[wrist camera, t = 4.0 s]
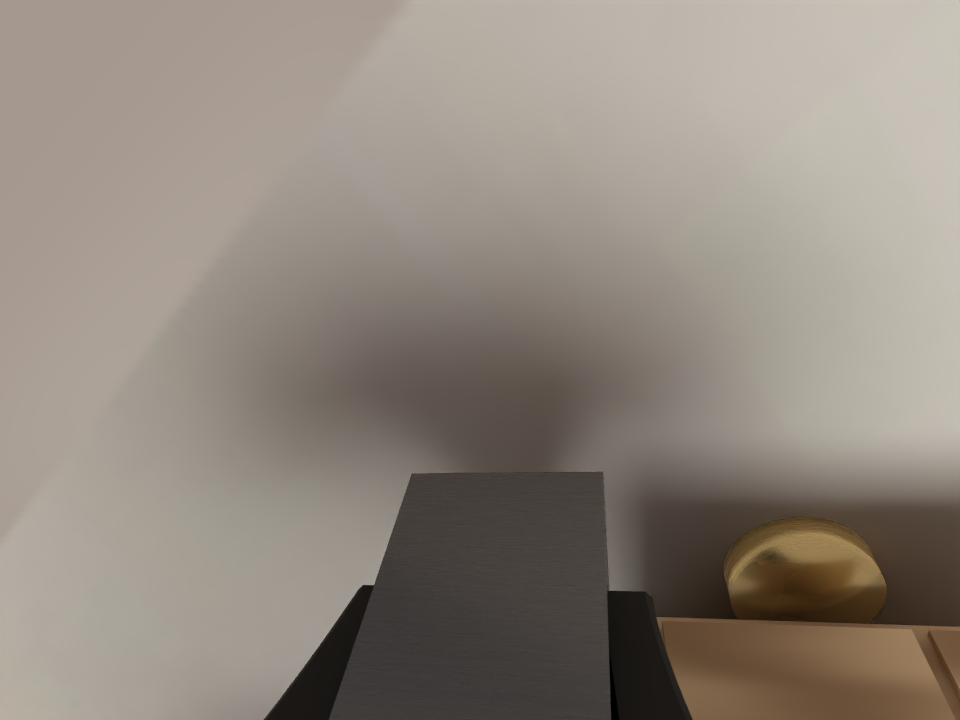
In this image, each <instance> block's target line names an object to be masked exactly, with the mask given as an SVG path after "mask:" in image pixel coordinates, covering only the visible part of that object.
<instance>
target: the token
mask: <svg viewBox="0 0 960 720" xmlns="http://www.w3.org/2000/svg"><path fill="white" fill-rule="evenodd" d="M723 567H724V576H725V580H726V585H727V589H728V593H729V598H730V602H731V606H732V609H733V611H734V614H735V615H736V616H737V618H738V619H739V620H765V621H795V622H826V623H856V624H868V623H869V622H870V621H871V620H872V619H874V618H875V617H876V615H877V614H878V613H879V612H880V611H881V609H882V607H883V606H884V603H885V600H886V596H887V586H886V583H885V579H884V577H883V575H882V573H881V571H880V569H879V567H878V565H877V563H876V561H875V559H874V557H873V555H872V553H871V551H870V549H869V547H868V545H867V543H866V542H865V541H864V540H863V538H862V537H861V536H859V535H858V534H857V533H856V532H854V531H853V530H851V529H850V528H848V527H846V526H844V525H842V524H839V523H836V522H833V521H829V520H825V519H818V518H804V517H803V518H789V519H782V520H778V521H773V522H770V523H767V524H764V525H761V526H759V527H757V528H755V529H753V530H751V531H749V532H747V533H746V534H745V535H743V536H742V537H740V538H739V539H738V540H737V541H736V542H735V543H734V544H733V545H732V547H731V548H730V549H729V551H728V553H727V555H726V557H725V560H724V566H723Z"/></svg>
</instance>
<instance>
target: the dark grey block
mask: <svg viewBox="0 0 960 720" xmlns="http://www.w3.org/2000/svg"><path fill="white" fill-rule="evenodd" d="M608 591H609V575H608V556H607V536H606V517H605V498H604V478H603V472H537V473H428V474H412V475H411V478H410V481H409V484H408V487H407V490H406V493H405V496H404V499H403V502H402V505H401V508H400V510H399V513H398V516H397V519H396V522H395V525H394V528H393V531H392V534H391V537H390V540H389V543H388V546H387V549H386V552H385V555H384V558H383V561H382V564H381V567H380V570H379V573H378V576H377V578H376V581H375V584H374V587H373V590H372V593H371V596H370V599H369V602H368V605H367V608H366V611H365V614H364V617H363V620H362V623H361V626H360V629H359V632H358V635H357V638H356V641H355V644H354V647H353V649H352V652H351V655H350V658H349V661H348V664H347V667H346V670H345V673H344V676H343V679H342V682H341V685H340V688H339V691H338V694H337V697H336V700H335V703H334V706H333V709H332V712H331V715H330V717H329V720H613V707H612V689H611V671H610V653H609V622H608Z"/></svg>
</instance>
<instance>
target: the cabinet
mask: <svg viewBox="0 0 960 720" xmlns="http://www.w3.org/2000/svg"><path fill="white" fill-rule="evenodd" d="M656 618H657V622H658V626H659V629H660V632H661V636H662V639H663V642H664V645H665V648H666V652H667V654H668V657H669V660H670V663H671V666H672V668H673V671H674V674H675V677H676V679H677V682H678V685H679V687H680V690H681V692H682V695H683V697H684V700H685V702H686V705H687V707H688V709H689V712H690V714H691V716H692V719H693V720H960V627H948V626H917V625H887V624H856V623H826V622H795V621H765V620H734V619H704V618H673V617H656Z"/></svg>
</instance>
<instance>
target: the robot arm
mask: <svg viewBox="0 0 960 720" xmlns="http://www.w3.org/2000/svg"><path fill="white" fill-rule="evenodd" d="M373 587H374V585H363V586H362V587H361V588H360V589H359V590H358V591H357V593H356V594H355V595H354V597H353V598H352V600H351V601H350V603H349V604H348V606H347V607H346V609H345V610H344V611H343V613H342V614H341V616H340V617H339V619H338V620H337V622H336V623H335V624H334V626H333V627H332V629H331V630H330V632H329V633H328V634H327V636H326V637H325V639H324V640H323V642H322V643H321V644H320V646H319V647H318V649H317V650H316V651H315V653H314V654H313V655H312V657H311V658H310V660H309V661H308V662H307V664H306V665H305V666H304V668H303V669H302V670H301V672H300V673H299V674H298V676H297V677H296V678H295V680H294V681H293V682H292V684H291V685H290V686H289V688H288V689H287V690H286V692H285V693H284V694H283V696H282V697H281V698H280V700H279V701H278V702H277V704H276V705H275V706H274V708H273V709H272V710H271V711H270V713H269V714H268V715H267V716H266V718H265V719H264V720H329V717H330V715H331V712H332V709H333V706H334V703H335V700H336V697H337V694H338V691H339V688H340V685H341V682H342V679H343V676H344V673H345V670H346V667H347V664H348V661H349V658H350V655H351V652H352V649H353V647H354V644H355V641H356V638H357V635H358V632H359V629H360V626H361V623H362V620H363V617H364V614H365V611H366V608H367V605H368V602H369V599H370V596H371V593H372V590H373ZM608 622H609V653H610V671H611V689H612V707H613V720H693V719H692V716H691V714H690V712H689V709H688V707H687V705H686V702H685V700H684V697H683V695H682V692H681V690H680V687H679V685H678V682H677V679H676V677H675V674H674V671H673V668H672V666H671V663H670V660H669V657H668V654H667V652H666V648H665V645H664V642H663V639H662V636H661V632H660V629H659V626H658V622H657V618H656V614H655V610H654V605H653V599H652V597H651V596H650V595H649V594H647V593H646V592H636V591H608Z"/></svg>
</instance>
